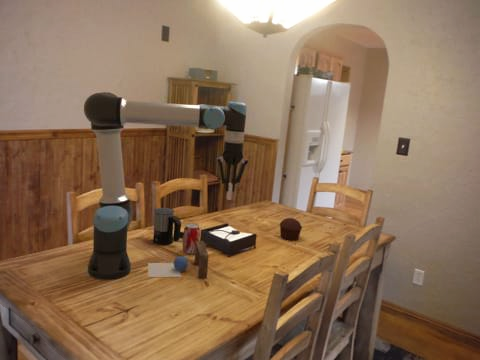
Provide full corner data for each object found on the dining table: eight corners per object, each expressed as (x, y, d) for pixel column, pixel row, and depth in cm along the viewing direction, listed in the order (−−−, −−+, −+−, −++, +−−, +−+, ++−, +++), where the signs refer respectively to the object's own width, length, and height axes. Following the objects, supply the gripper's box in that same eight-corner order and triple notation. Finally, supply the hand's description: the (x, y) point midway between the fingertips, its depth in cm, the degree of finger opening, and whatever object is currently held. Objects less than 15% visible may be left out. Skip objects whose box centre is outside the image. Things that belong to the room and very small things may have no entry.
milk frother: (148, 243, 178) (150, 211, 175) (163, 232, 193) (165, 203, 190) (178, 249, 175) (180, 216, 171) (191, 237, 190) (193, 207, 186)
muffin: (304, 241, 199) (307, 222, 197) (285, 242, 195) (287, 223, 193) (293, 233, 210) (295, 215, 207) (274, 234, 205) (276, 215, 203)
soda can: (195, 256, 169) (197, 229, 166) (179, 253, 170) (181, 226, 167) (200, 250, 175) (202, 224, 173) (185, 247, 177) (187, 221, 174)
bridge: (198, 278, 149) (200, 255, 147) (194, 262, 163) (196, 240, 161) (206, 278, 150) (208, 255, 148) (201, 262, 163) (203, 240, 161)
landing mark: (148, 277, 146) (148, 277, 146) (148, 263, 157) (148, 263, 157) (181, 277, 149) (181, 276, 148) (178, 263, 160) (178, 263, 160)
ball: (189, 271, 152) (175, 274, 151) (188, 265, 157) (174, 268, 156) (187, 258, 151) (173, 261, 150) (186, 252, 156) (172, 255, 155)
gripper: (219, 141, 153) (214, 201, 158) (252, 144, 156) (246, 202, 161) (216, 139, 160) (211, 196, 165) (247, 141, 163) (242, 197, 168)
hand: (228, 199), depth 163 cm, fingers closed
